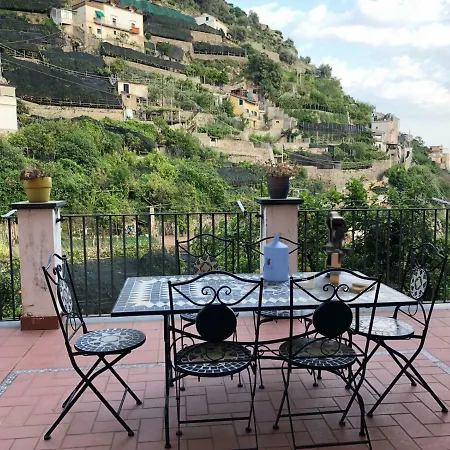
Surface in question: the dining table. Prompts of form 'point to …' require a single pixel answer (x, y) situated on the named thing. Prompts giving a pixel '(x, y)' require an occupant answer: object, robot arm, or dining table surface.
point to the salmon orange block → (335, 260)
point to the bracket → (306, 282)
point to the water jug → (276, 261)
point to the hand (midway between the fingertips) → (336, 263)
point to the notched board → (357, 287)
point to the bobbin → (334, 278)
